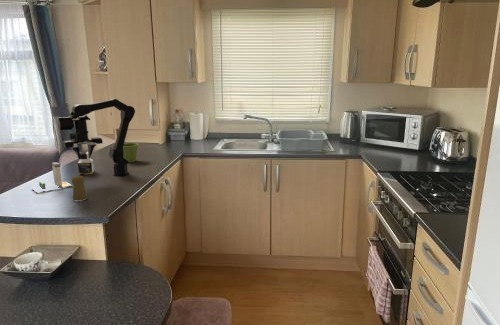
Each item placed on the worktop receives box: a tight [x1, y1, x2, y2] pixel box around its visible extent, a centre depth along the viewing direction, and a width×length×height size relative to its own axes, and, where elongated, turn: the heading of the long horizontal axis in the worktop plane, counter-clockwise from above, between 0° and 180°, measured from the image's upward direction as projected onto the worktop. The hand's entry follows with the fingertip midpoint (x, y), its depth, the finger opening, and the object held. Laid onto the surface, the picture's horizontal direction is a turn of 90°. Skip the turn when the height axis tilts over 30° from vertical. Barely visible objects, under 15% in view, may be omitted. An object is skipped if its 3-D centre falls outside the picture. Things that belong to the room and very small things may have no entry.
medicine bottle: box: [77, 151, 95, 176], centre depth 209 cm, size 7×7×12 cm
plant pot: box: [123, 142, 139, 163], centre depth 237 cm, size 12×12×11 cm
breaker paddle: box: [51, 161, 63, 186], centre depth 183 cm, size 2×5×11 cm, turn 43°
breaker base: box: [38, 180, 73, 189], centre depth 182 cm, size 16×10×4 cm, turn 133°
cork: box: [71, 175, 88, 201], centre depth 163 cm, size 6×6×11 cm
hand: (84, 158), depth 193 cm, fingers open, 5 cm apart
